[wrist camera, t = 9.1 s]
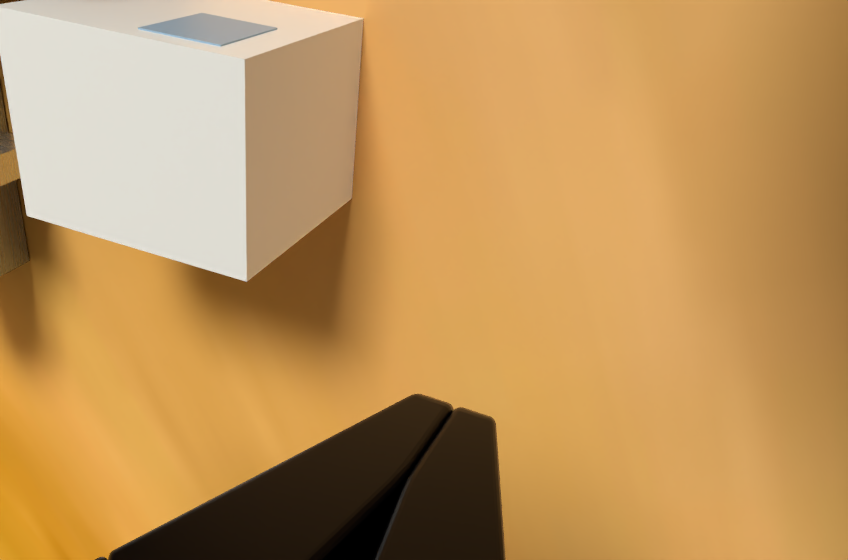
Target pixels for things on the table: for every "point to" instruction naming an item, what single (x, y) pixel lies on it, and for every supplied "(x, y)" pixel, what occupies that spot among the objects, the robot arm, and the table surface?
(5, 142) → the rail
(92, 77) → the block
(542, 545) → the table surface
